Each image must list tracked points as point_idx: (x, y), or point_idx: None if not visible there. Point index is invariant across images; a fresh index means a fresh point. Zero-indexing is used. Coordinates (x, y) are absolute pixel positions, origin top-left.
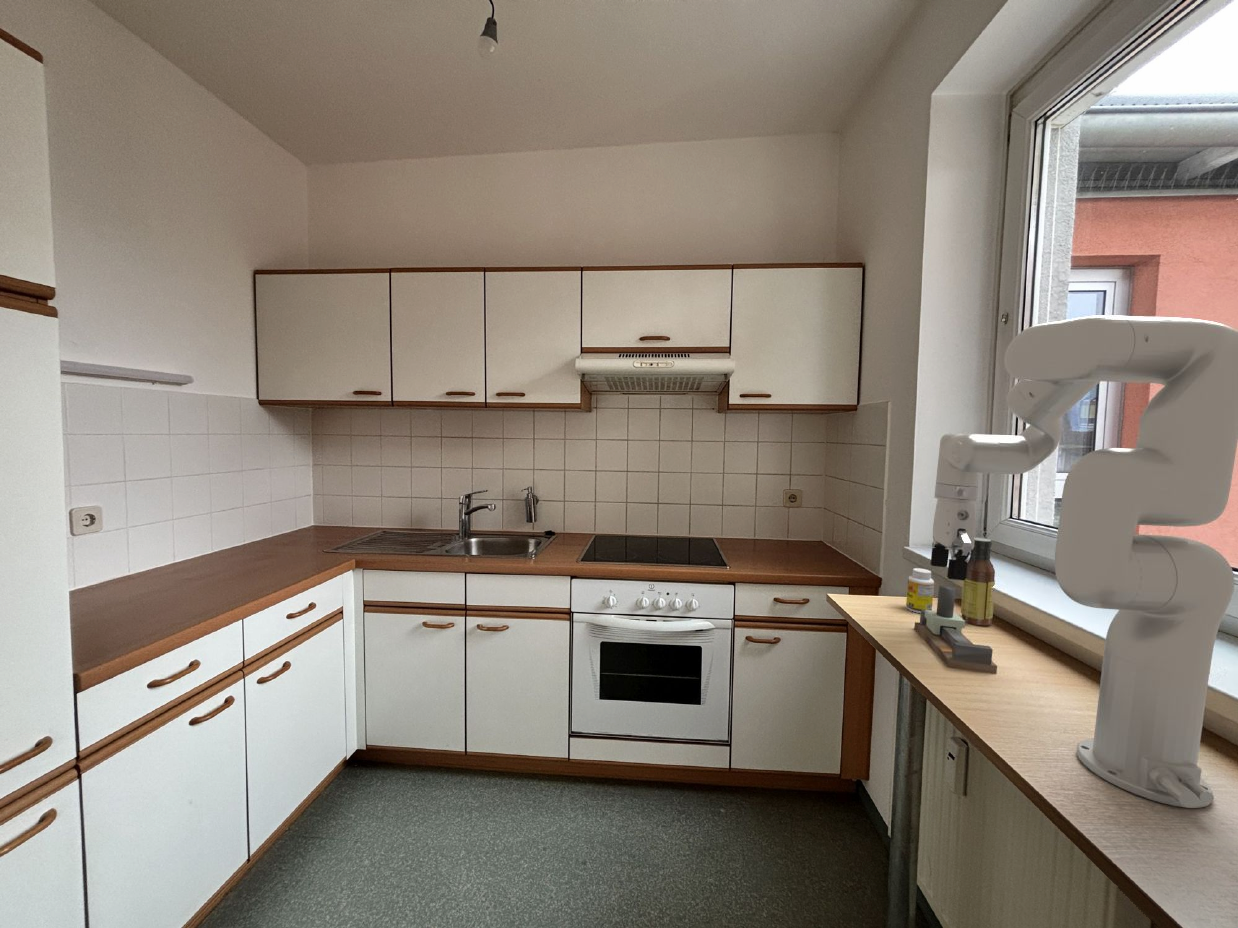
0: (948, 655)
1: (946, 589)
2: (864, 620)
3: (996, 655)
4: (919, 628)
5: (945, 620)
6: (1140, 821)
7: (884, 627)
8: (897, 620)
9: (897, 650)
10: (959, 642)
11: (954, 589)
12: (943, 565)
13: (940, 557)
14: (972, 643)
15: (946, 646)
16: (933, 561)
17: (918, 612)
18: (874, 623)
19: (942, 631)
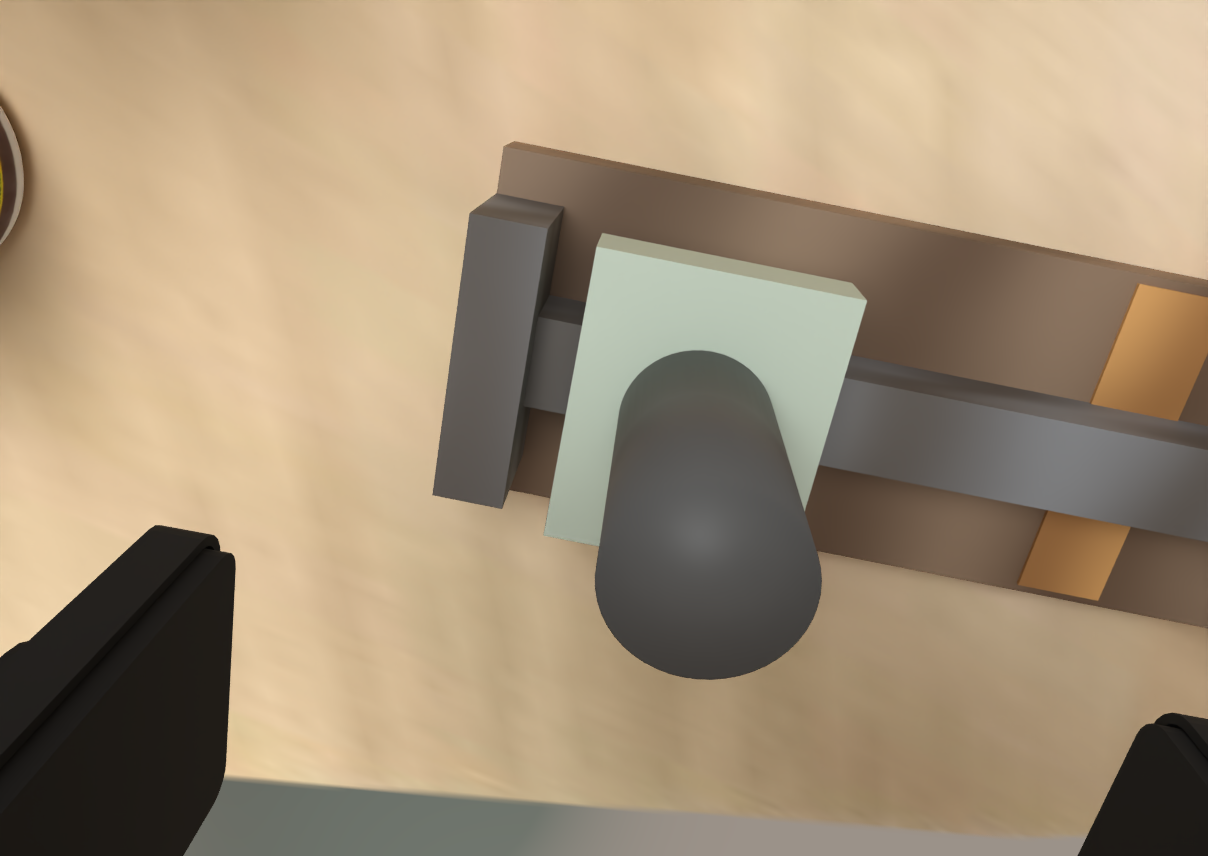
0: (1177, 597)
1: (792, 637)
2: (371, 746)
3: (1018, 46)
4: None
5: (813, 474)
6: None
7: (493, 672)
8: (296, 499)
9: (928, 779)
10: (1169, 526)
11: (789, 524)
12: (218, 617)
13: (123, 814)
14: (933, 235)
15: (1002, 512)
16: (189, 843)
17: (20, 207)
18: (421, 705)
19: None
